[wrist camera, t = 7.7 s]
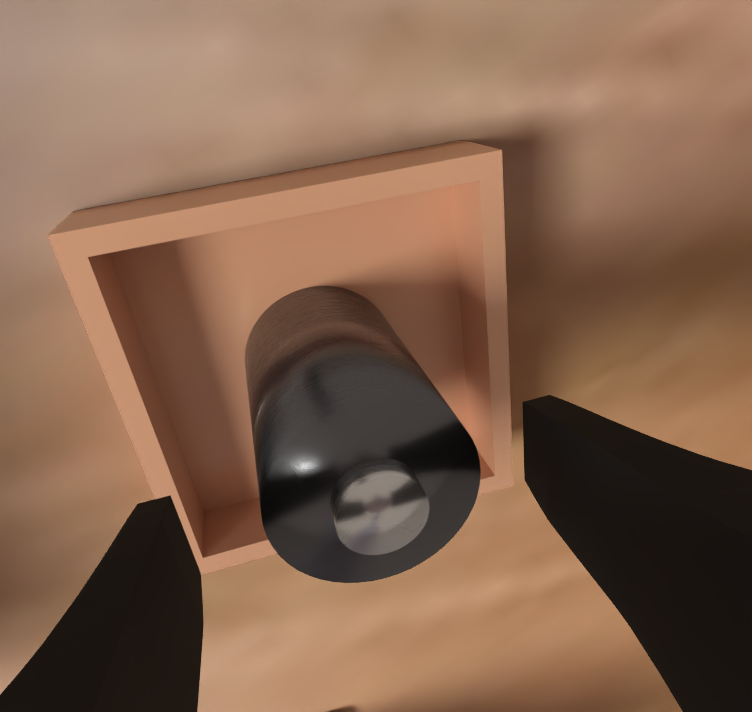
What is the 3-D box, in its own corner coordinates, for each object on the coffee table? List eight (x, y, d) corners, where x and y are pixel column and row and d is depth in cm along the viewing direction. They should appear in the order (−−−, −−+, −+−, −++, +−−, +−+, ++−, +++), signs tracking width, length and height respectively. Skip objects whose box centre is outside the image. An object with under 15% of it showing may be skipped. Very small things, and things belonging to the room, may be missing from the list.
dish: (481, 442, 20) (513, 485, 18) (191, 520, 19) (187, 578, 17) (462, 140, 16) (501, 149, 14) (73, 211, 14) (47, 235, 12)
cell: (406, 395, 18) (505, 557, 12) (271, 441, 18) (303, 635, 11) (375, 266, 16) (476, 381, 10) (222, 313, 16) (227, 465, 9)
